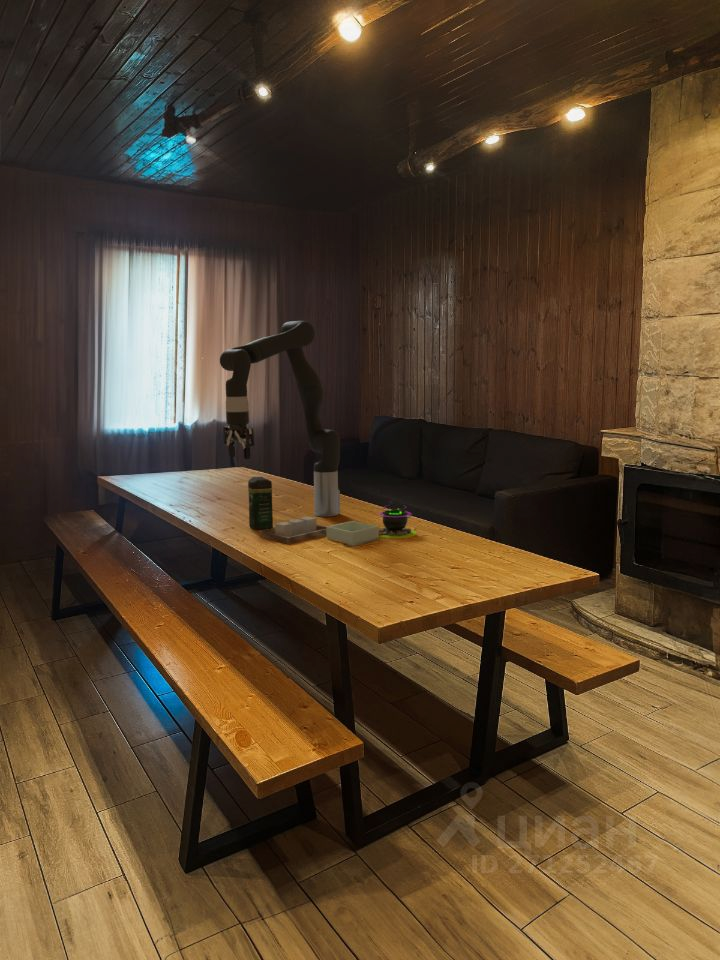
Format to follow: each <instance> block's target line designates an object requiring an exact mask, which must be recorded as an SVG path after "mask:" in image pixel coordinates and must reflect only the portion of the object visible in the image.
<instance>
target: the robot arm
mask: <svg viewBox="0 0 720 960" xmlns="http://www.w3.org/2000/svg"><path fill="white" fill-rule="evenodd" d="M315 332H316V331H315V328H314V325H312V323H311V322H309V321H305V320H294V321H293V320H292V321H286V322H285V323H283V324H282V326H281V330H280V333H277V334H274V335H270V336H266V337H265V336H264V337H262V338H258V339H255V340H253V341H251V342H248V343H247V344H243V345H240V346H235V347H231V348H228V349H226V350H225V351H223V352H222V353H221V354H220V357H219V364H220V366H221V367H222V369H224V370H225V371H227V372H232V376H231V378H228V379H227V380H226V381H225V420H226V425H228V426H223V430H222V431H223V444H224V445H226V446H227V450H228V453H227V454H228V457H229V458H235V457H236V448H235V447H236V446H235V444H236V442H239V443H240V444H241V445H242V447H243V449H242V450H243V451H242V452H243V453H242V454H243V460H250V459H251V448H252V447H254V446H255V435H254V434H255V433H254V428H253V427H251V428H248V427H247V426H248V425H249V423H250V414H249V413H250V411H249V399H248V380H249V377H250V376H249V375H250V371H251V365H252V364H258V363H259V362H262V361H264V360H266V359H270V358H271V357H273V356H275V355H278V354H281V353H283V352H286V355H287V358H288V360H289V363H290V365H291V366H290V368H291V370H292V373H293V378H294V381H295V384H296V389H297V393H298V397H299V401H300V403H301V408H302V412H303V416H304V420H305V421H304V422H305V428H306V435H307V440H308V444H309V447H310V449H311V451H313V452H315V453H319V454H321V459H320V460H319V461H318V462H317V461H316V462H315V463H314V465H313V491H314V492H313V493H314V495H313V501H314V502H313V503H314V504H313V505H314V508H313V509H314V516H317V517H327V518H328V517H335V516H338V515H339V514H341V490H340V489H339V481H338V480H339V476H338V475H339V474H338V473H339V472H338V470H339V469H338V467H339V464H340V458H341V437H340V435H339V433H338V432H337V431H336V430H335V429H334V430H333V429H327V428H326V429H324V428H323V425H322V421H321V410H322V408H323V403H324V398H325V395H324V389H323V384H322V382H321V378H320V376H319V374H318V373H317V371H316V370H315V369H314V367H313V366H312V365H311V364H310V362H309V361H308V359H307V358H306V355H305V353H304V350H303V348H304V347H307V346H310V345H311V344H312V343H313V341H314V340H315V337H316V333H315Z"/></svg>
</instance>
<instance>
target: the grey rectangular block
mask: <svg viewBox="0 0 720 960" xmlns="http://www.w3.org/2000/svg"><path fill="white" fill-rule="evenodd" d="M299 520H303V521H304V532H305V533H309V532H313V531H316V525H317V517H313V516H303V517H301V518H299Z"/></svg>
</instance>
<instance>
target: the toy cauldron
mask: <svg viewBox="0 0 720 960" xmlns="http://www.w3.org/2000/svg"><path fill="white" fill-rule="evenodd" d="M392 502H393V501H390V503H392ZM386 506H389V505H385V506H383V508H384V509H388V510H384V511H380V512H379V516H382V523H383V527H384V528H380V529H379V533H381V534H379V533H378V534H379V538H382V539H384V538H385V539H405V538H407V539H408V538H412V537H414V536H417V531H416V530H413V529H411V528H407V524H408V521H409V520H408V519H409V518H412V513H411V512H409V511H407V510H401V509H400V508H397V509H391V508H388V507H386ZM406 508H407V506H404V509H406Z"/></svg>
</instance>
